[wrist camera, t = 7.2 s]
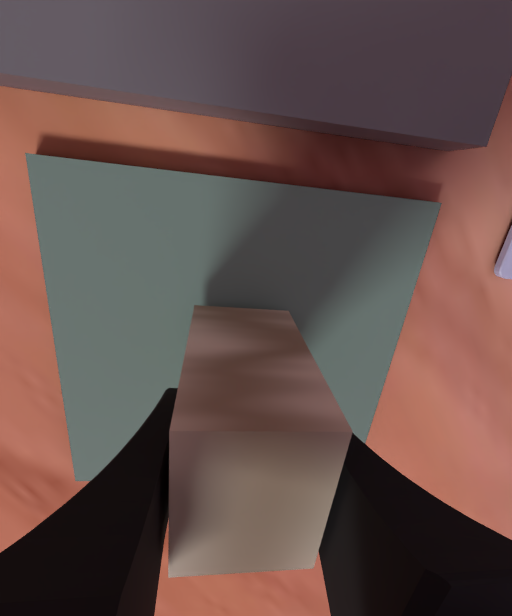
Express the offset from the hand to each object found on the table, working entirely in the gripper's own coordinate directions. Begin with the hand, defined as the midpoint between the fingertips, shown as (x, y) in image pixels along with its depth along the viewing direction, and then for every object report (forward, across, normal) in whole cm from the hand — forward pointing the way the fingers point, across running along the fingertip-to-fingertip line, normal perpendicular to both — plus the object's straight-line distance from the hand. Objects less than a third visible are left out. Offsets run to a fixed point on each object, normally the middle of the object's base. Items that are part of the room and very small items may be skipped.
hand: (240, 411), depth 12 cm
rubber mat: (+4, 0, 0) cm, 4 cm away
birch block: (+3, 0, 0) cm, 3 cm away
